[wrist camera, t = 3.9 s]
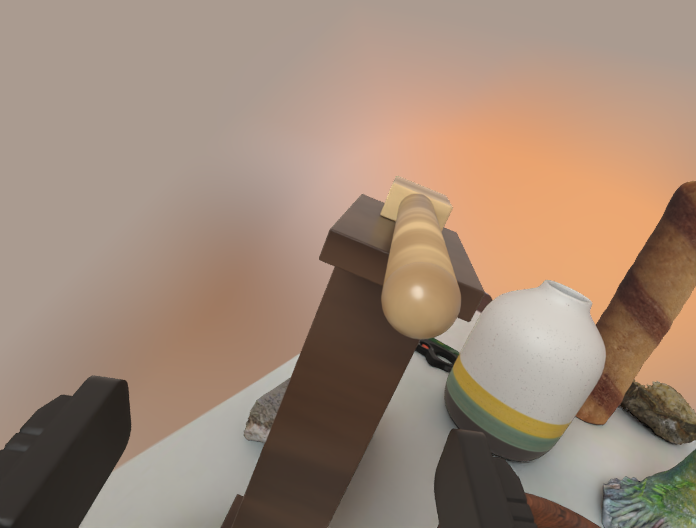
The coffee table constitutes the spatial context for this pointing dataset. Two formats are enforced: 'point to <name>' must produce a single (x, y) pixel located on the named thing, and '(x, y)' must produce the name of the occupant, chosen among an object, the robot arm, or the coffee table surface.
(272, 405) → the geological specimen
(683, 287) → the wafer roll
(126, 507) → the coffee table surface
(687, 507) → the tree stump
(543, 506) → the wooden bowl
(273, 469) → the stand
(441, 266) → the wooden mallet
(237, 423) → the coffee table surface
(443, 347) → the gun
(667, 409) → the mineral specimen
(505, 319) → the vase
